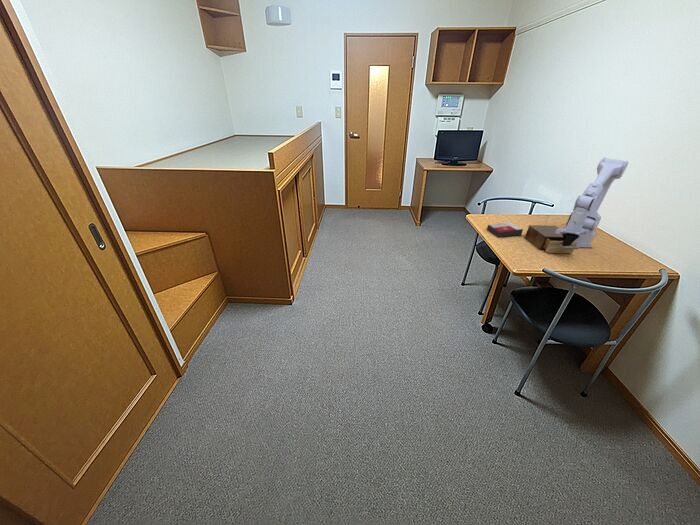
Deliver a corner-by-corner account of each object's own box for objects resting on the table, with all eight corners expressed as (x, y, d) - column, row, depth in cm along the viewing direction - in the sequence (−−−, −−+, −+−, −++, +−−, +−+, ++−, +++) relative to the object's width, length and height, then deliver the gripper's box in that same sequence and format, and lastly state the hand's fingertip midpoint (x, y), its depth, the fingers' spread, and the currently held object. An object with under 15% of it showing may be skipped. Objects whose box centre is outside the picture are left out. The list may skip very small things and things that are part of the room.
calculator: (487, 223, 169) (510, 220, 172) (486, 230, 172) (508, 227, 174) (500, 231, 160) (523, 228, 163) (498, 238, 162) (521, 235, 165)
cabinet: (567, 250, 151) (573, 237, 147) (540, 250, 150) (545, 236, 147) (549, 238, 164) (555, 225, 160) (524, 237, 163) (529, 225, 159)
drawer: (579, 257, 143) (584, 247, 140) (553, 257, 142) (557, 246, 139) (555, 240, 158) (559, 231, 156) (531, 240, 158) (535, 230, 155)
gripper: (567, 224, 133) (556, 250, 139) (598, 224, 133) (585, 250, 140) (557, 218, 139) (547, 243, 146) (586, 218, 139) (575, 244, 146)
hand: (565, 246), depth 143 cm, fingers closed, pressing on drawer
